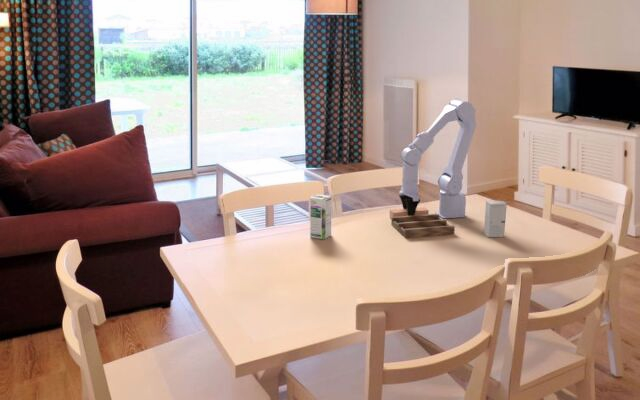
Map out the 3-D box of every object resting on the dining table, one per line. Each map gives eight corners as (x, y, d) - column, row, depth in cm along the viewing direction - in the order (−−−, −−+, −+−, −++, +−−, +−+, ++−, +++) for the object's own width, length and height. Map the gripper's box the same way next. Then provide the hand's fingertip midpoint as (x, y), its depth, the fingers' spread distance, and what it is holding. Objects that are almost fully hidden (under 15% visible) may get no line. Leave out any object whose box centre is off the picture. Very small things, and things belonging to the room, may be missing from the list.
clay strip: (424, 216, 252) (424, 207, 251) (428, 219, 248) (428, 210, 247) (389, 218, 249) (389, 209, 248) (392, 221, 245) (393, 212, 244)
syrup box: (309, 237, 227) (309, 197, 224) (317, 232, 232) (317, 193, 229) (324, 240, 225) (323, 199, 221) (332, 235, 230) (331, 195, 226)
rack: (437, 221, 244) (437, 213, 243) (454, 234, 230) (454, 226, 229) (391, 224, 241) (391, 217, 240) (405, 238, 226) (405, 229, 225)
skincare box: (488, 237, 226) (490, 204, 222) (483, 233, 230) (485, 200, 227) (505, 236, 226) (507, 203, 223) (499, 232, 231) (502, 199, 228)
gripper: (393, 176, 250) (392, 210, 254) (406, 185, 237) (405, 221, 240) (411, 175, 252) (410, 208, 255) (424, 184, 238) (423, 219, 242)
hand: (409, 214), depth 248 cm, fingers closed on clay strip, 4 cm apart
